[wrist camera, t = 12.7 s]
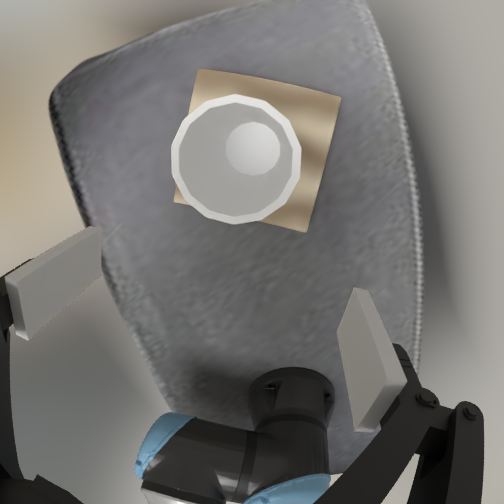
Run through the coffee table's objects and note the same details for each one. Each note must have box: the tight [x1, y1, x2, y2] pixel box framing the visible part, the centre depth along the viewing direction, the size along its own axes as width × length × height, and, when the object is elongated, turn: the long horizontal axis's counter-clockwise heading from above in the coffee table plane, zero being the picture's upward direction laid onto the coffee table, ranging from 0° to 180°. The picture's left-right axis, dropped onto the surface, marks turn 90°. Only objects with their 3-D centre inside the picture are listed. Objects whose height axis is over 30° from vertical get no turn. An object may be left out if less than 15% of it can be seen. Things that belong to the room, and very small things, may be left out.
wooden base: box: [174, 69, 341, 232], centre depth 35 cm, size 16×16×4 cm
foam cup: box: [171, 94, 301, 225], centre depth 28 cm, size 10×9×13 cm
